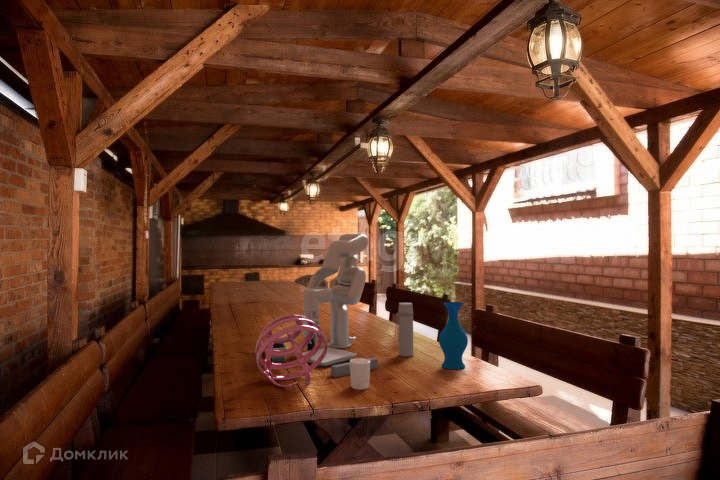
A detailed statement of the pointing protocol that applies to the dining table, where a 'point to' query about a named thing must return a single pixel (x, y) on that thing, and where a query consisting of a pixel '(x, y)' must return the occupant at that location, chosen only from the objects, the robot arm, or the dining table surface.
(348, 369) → the rail
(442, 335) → the vase
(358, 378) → the white cup
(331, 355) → the salad plate
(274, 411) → the dining table surface
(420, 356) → the dining table surface
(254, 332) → the dining table surface
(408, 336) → the water bottle
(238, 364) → the dining table surface
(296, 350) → the spiral basket
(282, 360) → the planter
